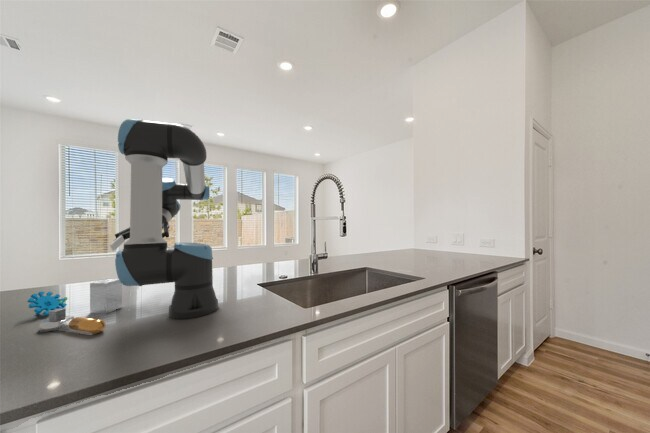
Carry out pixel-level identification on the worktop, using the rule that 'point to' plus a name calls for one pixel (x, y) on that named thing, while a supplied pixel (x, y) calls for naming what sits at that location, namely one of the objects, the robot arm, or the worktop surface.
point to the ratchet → (71, 323)
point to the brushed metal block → (105, 296)
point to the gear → (46, 302)
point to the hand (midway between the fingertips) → (130, 246)
